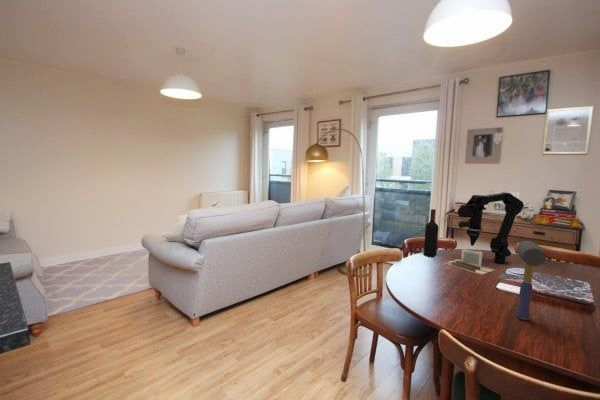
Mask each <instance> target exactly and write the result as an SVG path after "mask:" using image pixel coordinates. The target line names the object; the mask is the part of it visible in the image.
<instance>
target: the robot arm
mask: <svg viewBox="0 0 600 400" xmlns="http://www.w3.org/2000/svg"><path fill="white" fill-rule="evenodd" d="M500 201H502V204H504V211H505V215H504V217H503V219H502V223H501V226H500V228H499V230H498V234H497V236H495V237H491V240H490V242H489V247H490V252H491V253H493V254H494V256H493V257H494V258H493V259H494V260H493V262H494V264H497V265H506V264H507V263H506V262H507V258H508V257H511V255H512V251H510V249H509V242H508V237H509V235H510V232H511V229H512V228H513V225H514V222H515V219H516V217H517V216H518V215H519V214H520V213H521V212H522V210H523V209H524V207H525V204H524V202H523V201H522V200H521V199H520V198H518V197H516V196H515V195H513V194H512V193H510V192H507V191H505V192H504V191H503V192H498V193H492V194H486V195H483V194H482V195H481V194H473V195H471V197H470V199H469V200H468V201H467V203H466V204H465V205H464V204H462V205H460V207H459V208H458V210H457V215H458V216H459V218H469V219H468V220H461V221H459V222H457V225H458V227H459V229H462V228H463V229H464V228H467V229H466V235H468V237H469V240H470V246H472V247H473V246H474V245H475V244H476V242H477V241H478V239H479V237H480V235H481V233H482V231H483V226H482V221H483V212H484V211H486V210H487V208H486V206H487V205H489V204H490V203H495V202H500Z"/></svg>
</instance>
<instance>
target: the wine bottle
mask: <svg viewBox="0 0 600 400" xmlns="http://www.w3.org/2000/svg"><path fill="white" fill-rule="evenodd" d="M436 211H437V209H435V208H432V209H431V208H430V217H429V222H427V223H426V224H425V227H424V229H425V230H424V231H425V232H424V244H423V245H424V247H423V256H424V257H426V258H427V257H428V258H435V257H436V256H437V251H438V241H439V225H438V224H437V223H436V213H437V212H436Z"/></svg>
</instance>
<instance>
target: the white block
mask: <svg viewBox="0 0 600 400" xmlns="http://www.w3.org/2000/svg"><path fill="white" fill-rule="evenodd" d="M482 258H483V251H477V250H472V249H471V250H470V249H464V248H462V249H461V256H460V259H461V262H464V263H468V264H471V265H474V266H479V267H481V266H482V260H483V259H482Z"/></svg>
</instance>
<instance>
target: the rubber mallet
mask: <svg viewBox="0 0 600 400" xmlns="http://www.w3.org/2000/svg"><path fill="white" fill-rule="evenodd" d="M516 251H517V254H518V256H519V258H520V259H521V260H522V261H523V262H524V263H525V265H524V271H523V278H522V281H521V285H520V288H519V295H518V296H519V303H518V309H517V311H516V315H517V317H518V318H519V319H521V320H524V321H527V320H528V319H529V318H530V316H531V314H530V308H531V307H530V306H531V300H532V297H533V284H532V283H533V282H532V281H533V271H534V267H540V266H541V265H543V264H544V263H545V262H546V260H547V255H546V253H545V251H544V249H543V248H541V246H540V245H538V244H537V243H536V242H533V241H532V240H531V241H530V240H523V241H521V242H519V243H518V245H517V247H516Z"/></svg>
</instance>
